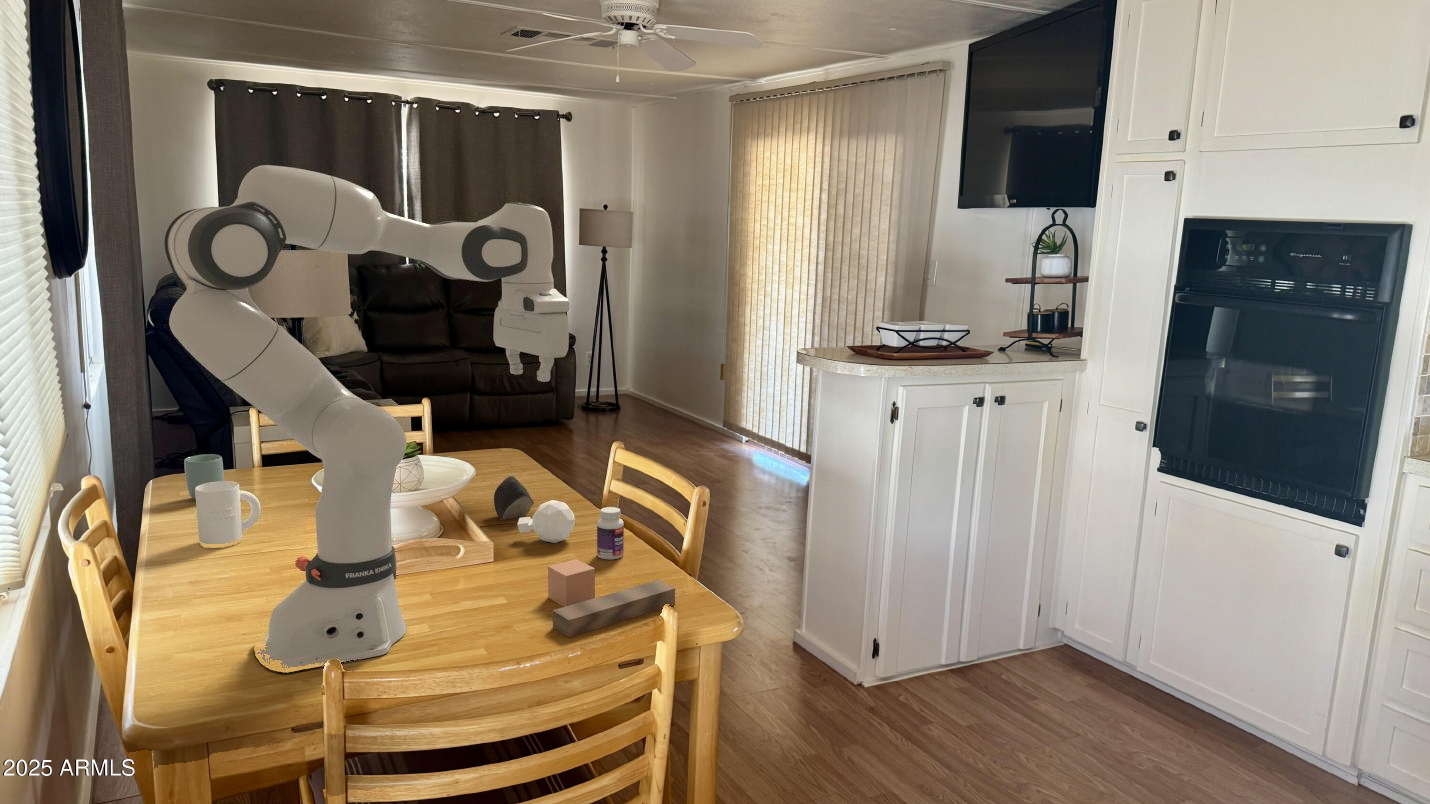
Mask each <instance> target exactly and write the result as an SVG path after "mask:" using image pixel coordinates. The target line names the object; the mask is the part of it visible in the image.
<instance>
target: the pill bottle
mask: <svg viewBox="0 0 1430 804" xmlns="http://www.w3.org/2000/svg"><path fill="white" fill-rule="evenodd" d="M624 528H625V525H624V521H623V519H622V518H621V508H619V507H614V506H607V507H603V508H601V509H600V519H599V520H597V522H596V555H597V557H598V558H600V559H601V560H609V561H611V560H619V559H620V558H622V557H623V556H624V548H625V546H624V541H625V539H624V538H625V536H624V535H625V533H624V531H625V529H624Z"/></svg>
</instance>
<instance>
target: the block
mask: <svg viewBox="0 0 1430 804" xmlns="http://www.w3.org/2000/svg"><path fill="white" fill-rule="evenodd" d="M547 583H548V584H547V587H548V588H547V590H548V591H547V593H548V596H547V597H548V599H550V600H552V601H554V602H555V603H557V604H558V605H561V606H562V607H566V606H569V605H573V604H576V603H580V602H583V601H587V600H590V599H594V598H596V568H595V567H593V566H591V565H589V564H587V563H585V562H583V561H582V560H579V559H577V558H575V559H571V560H568V561H565V562H559V563H556V564H552V565H551V564H550V565H548V566H547Z"/></svg>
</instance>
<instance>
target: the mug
mask: <svg viewBox="0 0 1430 804" xmlns="http://www.w3.org/2000/svg"><path fill="white" fill-rule="evenodd" d="M195 497H196V500H195V506H196V507H195V508H196V516H197V517H196V518H197V530H198V542H199V541H200V542H202V543H205V544H225V543H230V542H235V541H238V540H239V539H241V538H242V537H243V538H244V535H243V534H244V533H243V531H246V530H249V528H251V527H252V526H254V525H255V524H256V523H257V521H258V520H259V517H260V515H261V503H260V501H259V499H258V497H257V496H255V495H254V493H251V492H249V491H246V490H240V484H239V483H238V482H236V481H229V480H228V481H227V480H224V481H218V482H210V483H205V484H202V485H199V486H197V487H196V488H195ZM241 500H243V501H245V502H247V503H248V505H249V506H250V512H249V514H248V516H247V518H246V519H245V520H243V518H242V517H243V516H242V508H241V507H242V505H241Z"/></svg>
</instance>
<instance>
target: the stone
mask: <svg viewBox="0 0 1430 804" xmlns="http://www.w3.org/2000/svg"><path fill="white" fill-rule="evenodd" d="M534 504H535V503H534V500H533V499H532V496H531V495H530V493H529V492H528V490H527V488H526V487H525V486H524V485H523V484H522V483H521V482H520V481H519V480H518V479H517V478H516V477H515V476H513V475H510V476H508V477H506V478H505V479H504V480H502V482H501V483H500V484H499V485H498V486H497V488H496V489H495V491H494V493H493V505H494V510H495V513H496V515H497V516H498V518H499V520H501V521H506V520H511V519H512V520H513V519H517V518H523V517H527V515H528V513H529V512H530V510H531V508H532V507H533V505H534Z"/></svg>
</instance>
